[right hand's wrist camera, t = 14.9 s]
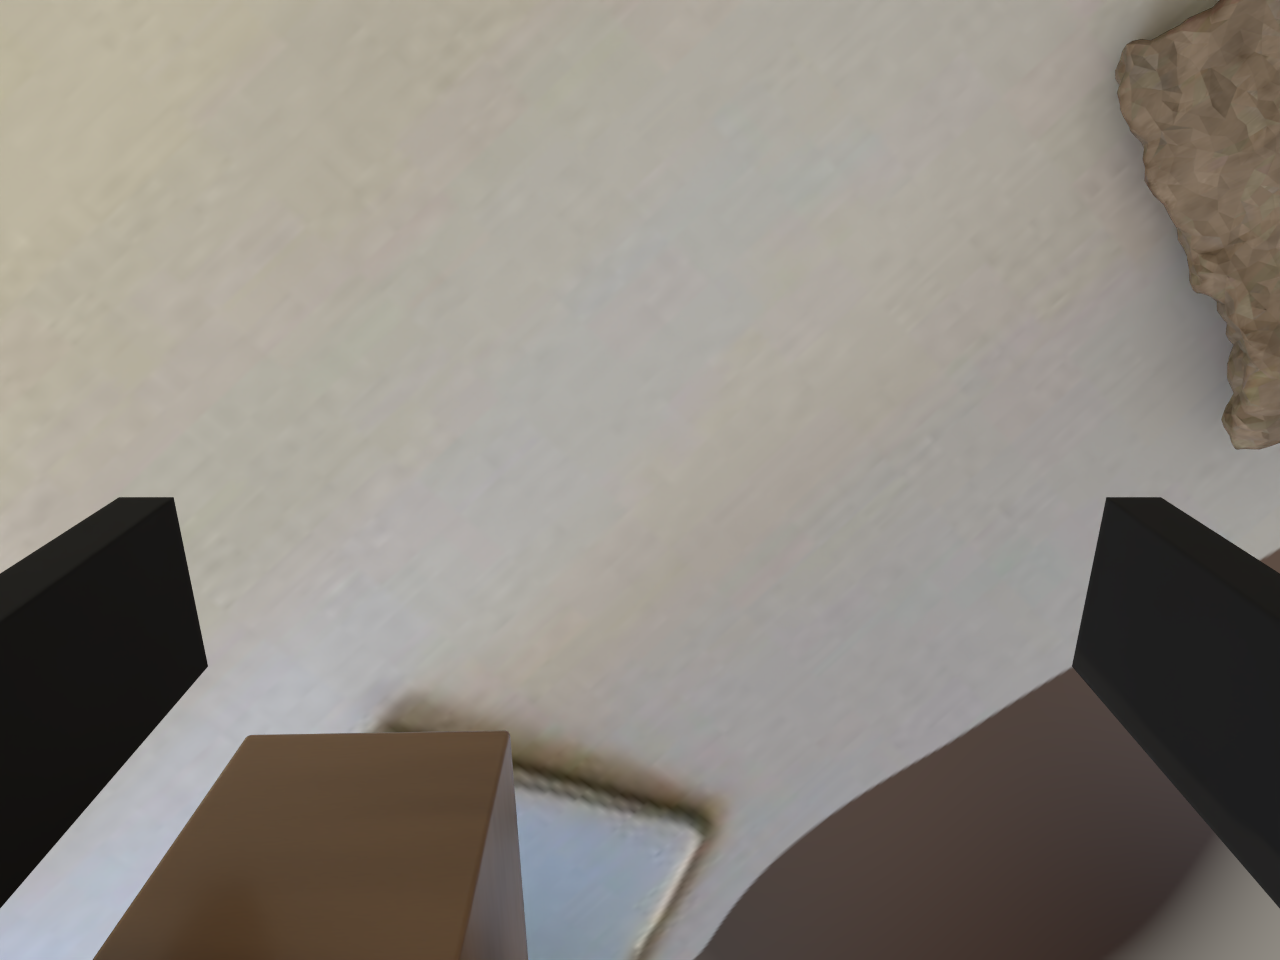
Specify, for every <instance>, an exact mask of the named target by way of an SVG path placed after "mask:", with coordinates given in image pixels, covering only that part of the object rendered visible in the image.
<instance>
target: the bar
mask: <svg viewBox="0 0 1280 960" xmlns="http://www.w3.org/2000/svg"><path fill="white" fill-rule="evenodd" d="M93 960H528V952H527V940H526V927H525V915H524V902H523V890H522V877H521V865H520V853H519V840H518V828H517V815H516V803H515V790H514V778H513V765H512V753H511V740H510V734H509V732H508V731H452V732H395V733H339V734H282V735H250V736H247V737H246V738H245V740H244V741H243V743H242V744H241V746H240V747H239V749H238V750H237V751H236V753H235V754H234V756H233V757H232V759H231V760H230V762H229V763H228V764H227V766H226V767H225V769H224V770H223V772H222V773H221V775H220V776H219V778H218V779H217V780H216V782H215V783H214V785H213V786H212V788H211V789H210V791H209V792H208V793H207V795H206V796H205V798H204V799H203V801H202V802H201V804H200V805H199V807H198V808H197V809H196V811H195V812H194V814H193V815H192V817H191V818H190V820H189V821H188V822H187V824H186V825H185V827H184V828H183V830H182V831H181V833H180V834H179V835H178V837H177V838H176V840H175V841H174V843H173V844H172V846H171V847H170V849H169V850H168V851H167V853H166V854H165V856H164V857H163V859H162V860H161V862H160V863H159V864H158V866H157V867H156V869H155V870H154V872H153V873H152V875H151V876H150V878H149V879H148V880H147V882H146V883H145V885H144V886H143V888H142V889H141V891H140V892H139V893H138V895H137V896H136V898H135V899H134V901H133V902H132V904H131V905H130V906H129V908H128V909H127V911H126V912H125V914H124V915H123V917H122V918H121V920H120V921H119V922H118V924H117V925H116V927H115V928H114V930H113V931H112V933H111V934H110V935H109V937H108V938H107V940H106V941H105V943H104V944H103V946H102V947H101V948H100V950H99V951H98V953H97V954H96V956H95V957H94V959H93Z"/></svg>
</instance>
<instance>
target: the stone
mask: <svg viewBox="0 0 1280 960" xmlns="http://www.w3.org/2000/svg"><path fill="white" fill-rule="evenodd" d="M1115 79H1116V80H1117V82H1118V84H1119V88H1118V92H1117V94H1118V98H1119V102H1120V109H1121V112H1122V114H1123V117H1124V119H1125V120H1126V122H1127V123H1128V125H1129V128H1130V131H1131V132H1132V133H1133V134H1134V136H1135V137H1136V138H1137V139H1138V140H1139V141H1141V142H1142V144H1143V147H1144V154H1143V162H1144V165H1145V182H1146V184H1147V185H1148V187H1149V189H1150V190H1151V192H1152V193H1153V195H1154V196H1155V197H1156V198H1157V199H1158V200H1159V201H1160V202H1162V203H1163V204H1164V206H1165V208H1166V210H1167V212H1168V214H1169V216H1170V218H1171V219H1172V221H1173V223H1174V224H1175V226H1176V228H1177V231H1178V241H1179V242H1180V244H1181V245H1182V247H1183V248H1184V250H1185V252H1186V255H1187V261H1188V266H1189V281H1190V283H1191V286H1192V288H1193V290H1194V291H1195V292H1196V293H1202V294H1206V295H1208V296H1211V297H1212V298H1213V299H1214V300H1216V301H1217V311H1218V313H1219V314H1220V315H1221V317H1222V318H1223V319H1224V321H1226V322H1227V328H1226V335H1227V337H1228V339H1229V341H1230V342H1231V343H1232V344H1233V348H1232V351H1231V353H1230V356H1229V361H1228V363H1227V379H1228V381H1229V384H1230V386H1231V388H1232V390H1233V392H1234V394H1233V396H1232V397H1231V399H1230V401H1229V403H1228V404H1227V406H1226V408H1225V410H1224V413H1223V416H1222V419H1221V420H1222V423H1223V426H1224V428H1225V429H1226V431H1227V432H1228V434H1229V435H1230V439H1231V442H1232V444H1233V446H1234V448H1235V449H1262V448H1265V447H1269V446H1272V445H1275V444H1277V443H1280V0H1220V1H1219V2H1218V3H1217V4H1216V5H1215V6H1214V7H1213V8H1211V9H1208V10H1206V11H1204V12H1202V13H1199V14H1197V15H1195V16H1192V17H1190V18H1188V19H1187V20H1186V21H1184V22H1183V23H1182V24H1181V25H1179V26H1177V27H1175V28H1173V29H1171V30H1169V31H1167V32H1166V33H1164V34H1162V35H1160V36H1158V37H1157V38H1155V39H1152V40H1144V39H1140V40H1135V41H1132V42H1130V43H1129V44H1127V45H1126V47H1125V48H1124V50H1123V51H1122V55H1121V59H1120V62H1119V64H1118V66H1117V68H1116V70H1115Z"/></svg>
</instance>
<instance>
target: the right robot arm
mask: <svg viewBox="0 0 1280 960" xmlns="http://www.w3.org/2000/svg"><path fill="white" fill-rule="evenodd" d="M207 667H208V664H207V659H206V654H205V650H204V645H203V640H202V635H201V630H200V625H199V620H198V615H197V610H196V605H195V600H194V596H193V591H192V586H191V581H190V576H189V571H188V566H187V561H186V556H185V551H184V546H183V542H182V537H181V532H180V527H179V522H178V517H177V512H176V507H175V502H174V497H119V498H117V499H116V500H114V501H113V502H111V503H110V504H108V505H106V506H105V507H103V508H102V509H100V510H99V511H97V512H96V513H94V514H92V515H91V516H89V517H88V518H86V519H85V520H83V521H82V522H80V523H78V524H77V525H75V526H74V527H72V528H71V529H69V530H68V531H66V532H64V533H63V534H61V535H60V536H58V537H57V538H55V539H54V540H52V541H50V542H49V543H47V544H46V545H44V546H43V547H41V548H40V549H38V550H36V551H35V552H33V553H32V554H30V555H29V556H27V557H25V558H24V559H22V560H21V561H19V562H18V563H16V564H15V565H13V566H11V567H10V568H8V569H7V570H5V571H4V572H2V573H1V574H0V908H1V907H2V906H3V904H4V903H5V902H6V901H7V900H8V899H9V897H10V896H11V895H12V894H13V893H14V892H15V891H16V889H17V888H18V887H19V886H20V885H21V884H22V882H23V881H24V880H25V879H26V878H27V877H28V875H29V874H30V873H31V872H32V871H33V870H34V868H35V867H36V866H37V865H38V864H39V863H40V861H41V860H42V859H43V858H44V857H45V856H46V854H47V853H48V852H49V851H50V850H51V849H52V847H53V846H54V845H55V844H56V843H57V842H58V840H59V839H60V838H61V837H62V836H63V835H64V833H65V832H66V831H67V830H68V829H69V828H70V826H71V825H72V824H73V823H74V822H75V821H76V819H77V818H78V817H79V816H80V815H81V814H82V812H83V811H84V810H85V809H86V808H87V807H88V805H89V804H90V803H91V802H92V801H93V800H94V798H95V797H96V796H97V795H98V794H99V793H100V791H101V790H102V789H103V788H104V787H105V786H106V784H107V783H108V782H109V781H110V780H111V779H112V778H113V776H114V775H115V774H116V773H117V772H118V771H119V769H120V768H121V767H122V766H123V765H124V764H125V762H126V761H127V760H128V759H129V758H130V757H131V755H132V754H133V753H134V752H135V751H136V750H137V748H138V747H139V746H140V745H141V744H142V743H143V741H144V740H145V739H146V738H147V737H148V736H149V734H150V733H151V732H152V731H153V730H154V729H155V727H156V726H157V725H158V724H159V723H160V722H161V720H162V719H163V718H164V717H165V716H166V715H167V713H168V712H169V711H170V710H171V709H172V708H173V706H174V705H175V704H176V703H177V702H178V701H179V699H180V698H181V697H182V696H183V695H184V694H185V692H186V691H187V690H188V689H189V688H190V687H191V685H192V684H193V683H194V682H195V681H196V680H197V678H198V677H199V676H200V675H201V674H202V673H203V671H204V670H205V669H206V668H207ZM1072 667H1073V668H1074V669H1075V670H1076V672H1077V673H1078V674H1079V675H1080V676H1081V677H1082V678H1083V680H1084V681H1085V682H1086V683H1087V684H1088V685H1089V687H1090V688H1091V689H1092V690H1093V691H1094V692H1095V694H1096V695H1097V696H1098V697H1099V698H1100V699H1101V701H1102V702H1103V703H1104V704H1105V705H1106V706H1107V708H1108V709H1109V710H1110V711H1111V712H1112V713H1113V715H1114V716H1115V717H1116V718H1117V719H1118V720H1119V722H1120V723H1121V724H1122V725H1123V726H1124V727H1125V729H1126V730H1127V731H1128V732H1129V733H1130V734H1131V736H1132V737H1133V738H1134V739H1135V740H1136V741H1137V743H1138V744H1139V745H1140V746H1141V747H1142V748H1143V750H1144V751H1145V752H1146V753H1147V754H1148V755H1149V757H1150V758H1151V759H1152V760H1153V761H1154V762H1155V763H1156V765H1157V766H1158V767H1159V768H1160V769H1161V771H1162V772H1163V773H1164V774H1165V775H1166V776H1167V777H1168V779H1169V780H1170V781H1171V782H1172V783H1173V784H1174V786H1175V787H1176V788H1177V789H1178V790H1179V791H1180V793H1181V794H1182V795H1183V796H1184V797H1185V798H1186V800H1187V801H1188V802H1189V803H1190V804H1191V805H1192V807H1193V808H1194V809H1195V810H1196V811H1197V812H1198V814H1199V815H1200V816H1201V817H1202V818H1203V819H1204V821H1205V822H1206V823H1207V824H1208V825H1209V826H1210V828H1211V829H1212V830H1213V831H1214V832H1215V833H1216V835H1217V836H1218V837H1219V838H1220V839H1221V840H1222V842H1223V843H1224V844H1225V845H1226V846H1227V847H1228V849H1229V850H1230V851H1231V852H1232V853H1233V854H1234V856H1235V857H1236V858H1237V859H1238V860H1239V861H1240V862H1241V864H1242V865H1243V866H1244V867H1245V868H1246V870H1247V871H1248V872H1249V873H1250V874H1251V875H1252V877H1253V878H1254V879H1255V880H1256V881H1257V882H1258V883H1259V885H1260V886H1261V887H1262V888H1263V889H1264V891H1265V892H1266V893H1267V894H1268V895H1269V896H1270V897H1271V899H1272V900H1273V901H1274V902H1275V903H1276V904H1277V906H1278V907H1279V908H1280V574H1279V573H1278V572H1276V571H1275V570H1273V569H1272V568H1270V567H1269V566H1267V565H1265V564H1264V563H1262V562H1261V561H1259V560H1258V559H1256V558H1255V557H1253V556H1251V555H1250V554H1248V553H1247V552H1245V551H1244V550H1242V549H1240V548H1239V547H1237V546H1236V545H1234V544H1233V543H1231V542H1230V541H1228V540H1226V539H1225V538H1223V537H1222V536H1220V535H1219V534H1217V533H1216V532H1214V531H1212V530H1211V529H1209V528H1208V527H1206V526H1205V525H1203V524H1202V523H1200V522H1198V521H1197V520H1195V519H1194V518H1192V517H1191V516H1189V515H1188V514H1186V513H1184V512H1183V511H1181V510H1180V509H1178V508H1177V507H1175V506H1174V505H1172V504H1170V503H1169V502H1167V501H1166V500H1164V499H1163V498H1161V497H1106V502H1105V507H1104V512H1103V517H1102V522H1101V527H1100V532H1099V537H1098V542H1097V546H1096V551H1095V556H1094V561H1093V566H1092V571H1091V576H1090V581H1089V586H1088V591H1087V596H1086V600H1085V605H1084V610H1083V615H1082V620H1081V625H1080V630H1079V635H1078V640H1077V645H1076V650H1075V654H1074V659H1073V664H1072Z"/></svg>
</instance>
